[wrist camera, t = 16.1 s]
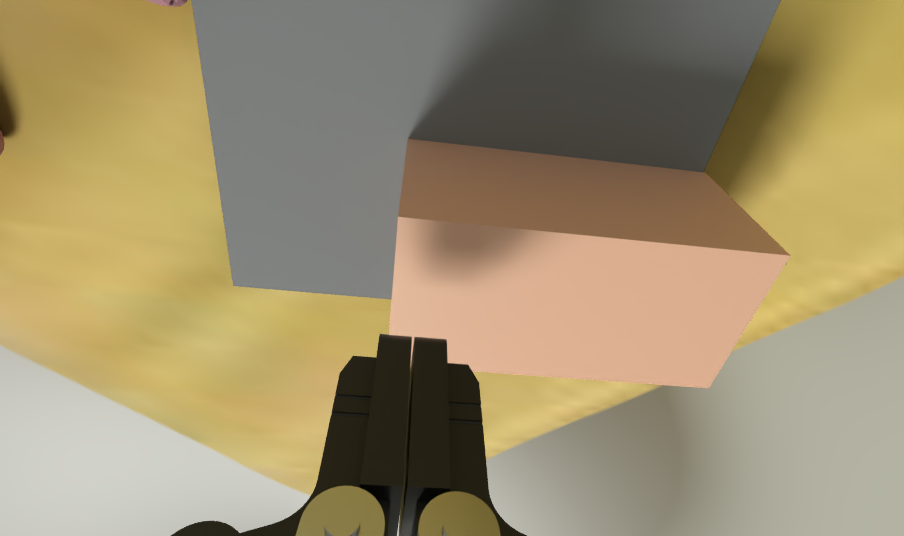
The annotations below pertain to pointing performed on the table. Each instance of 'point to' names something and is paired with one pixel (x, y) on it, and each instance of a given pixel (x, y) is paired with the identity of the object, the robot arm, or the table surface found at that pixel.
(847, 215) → the table surface
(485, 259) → the peach block
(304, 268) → the charcoal mat
